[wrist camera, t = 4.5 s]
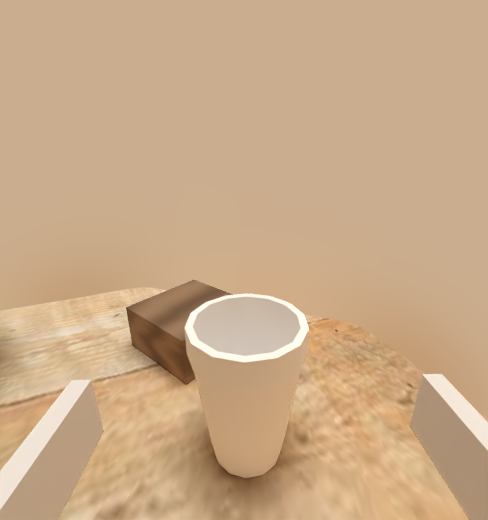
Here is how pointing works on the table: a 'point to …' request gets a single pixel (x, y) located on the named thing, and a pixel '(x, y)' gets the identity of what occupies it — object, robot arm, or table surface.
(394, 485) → the table surface
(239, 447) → the foam cup
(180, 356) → the walnut block
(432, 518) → the table surface
